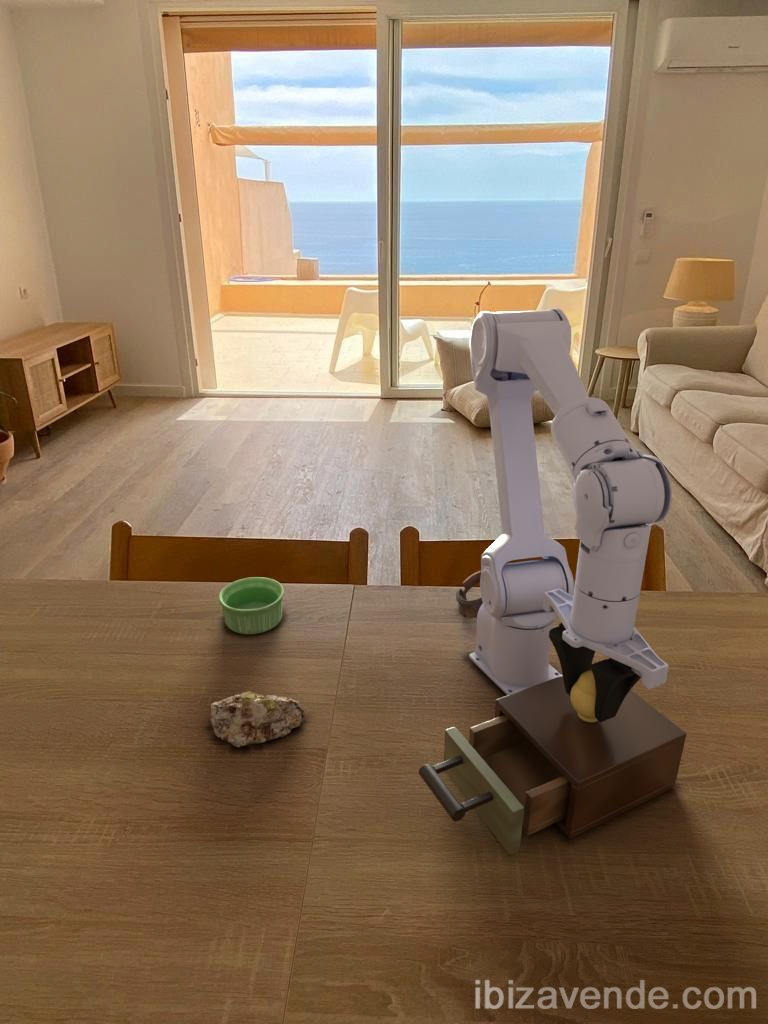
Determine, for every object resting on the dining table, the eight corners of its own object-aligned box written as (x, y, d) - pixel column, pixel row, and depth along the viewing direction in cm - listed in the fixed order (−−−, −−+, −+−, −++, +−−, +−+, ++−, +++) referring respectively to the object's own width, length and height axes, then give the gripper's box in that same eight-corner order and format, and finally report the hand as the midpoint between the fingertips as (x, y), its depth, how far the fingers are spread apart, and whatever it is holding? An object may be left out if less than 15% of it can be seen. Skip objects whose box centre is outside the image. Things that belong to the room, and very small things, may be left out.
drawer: (466, 875, 60) (469, 832, 58) (404, 785, 70) (404, 744, 67) (614, 804, 67) (622, 762, 65) (540, 730, 77) (544, 692, 74)
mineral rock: (200, 738, 74) (212, 675, 80) (205, 759, 77) (217, 697, 83) (302, 737, 74) (306, 675, 80) (303, 759, 77) (307, 697, 83)
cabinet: (569, 839, 65) (577, 782, 62) (491, 751, 75) (495, 699, 72) (674, 787, 70) (687, 733, 67) (588, 712, 80) (596, 662, 78)
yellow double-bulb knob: (586, 733, 67) (593, 691, 65) (559, 709, 70) (564, 668, 68) (618, 720, 69) (625, 679, 67) (590, 697, 72) (596, 656, 70)
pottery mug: (526, 647, 93) (498, 603, 90) (467, 653, 99) (439, 611, 95) (547, 586, 101) (522, 544, 98) (492, 595, 107) (466, 555, 104)
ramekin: (263, 595, 104) (260, 570, 103) (298, 620, 98) (296, 593, 96) (210, 618, 99) (206, 592, 97) (244, 645, 93) (241, 618, 91)
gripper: (522, 561, 68) (513, 674, 73) (633, 638, 56) (611, 765, 61) (579, 545, 70) (565, 655, 76) (695, 615, 59) (669, 739, 64)
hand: (589, 703), depth 69 cm, fingers closed on yellow double-bulb knob, 4 cm apart
